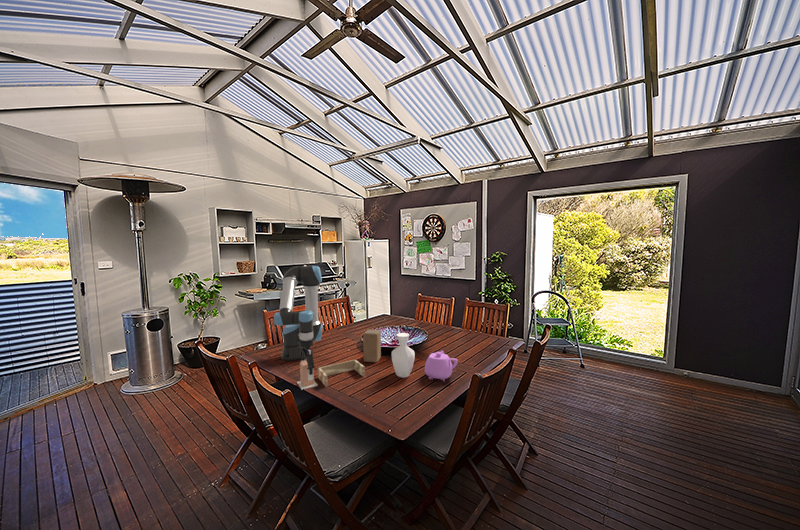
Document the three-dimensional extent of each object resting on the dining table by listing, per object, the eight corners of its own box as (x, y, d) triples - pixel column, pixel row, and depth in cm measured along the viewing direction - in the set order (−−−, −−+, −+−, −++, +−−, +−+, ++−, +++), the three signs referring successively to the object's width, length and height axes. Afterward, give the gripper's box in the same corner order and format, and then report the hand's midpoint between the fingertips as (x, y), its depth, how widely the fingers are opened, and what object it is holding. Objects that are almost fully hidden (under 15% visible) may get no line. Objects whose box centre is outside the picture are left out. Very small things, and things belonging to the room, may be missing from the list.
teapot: (460, 371, 189) (460, 348, 188) (455, 385, 170) (455, 359, 169) (429, 367, 195) (429, 344, 194) (421, 380, 176) (421, 355, 175)
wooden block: (377, 363, 201) (377, 334, 200) (363, 361, 203) (362, 333, 202) (381, 357, 211) (381, 329, 210) (367, 356, 213) (367, 328, 212)
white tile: (297, 382, 173) (297, 381, 173) (312, 379, 178) (312, 378, 178) (301, 390, 164) (301, 388, 164) (317, 385, 169) (317, 384, 169)
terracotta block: (310, 379, 175) (310, 360, 174) (314, 384, 170) (313, 363, 169) (300, 382, 172) (299, 362, 171) (303, 386, 167) (302, 365, 166)
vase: (388, 371, 188) (387, 332, 186) (408, 368, 193) (408, 330, 191) (396, 381, 175) (396, 339, 173) (418, 377, 180) (418, 336, 178)
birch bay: (317, 377, 180) (317, 367, 179) (355, 368, 193) (355, 359, 192) (325, 386, 168) (325, 376, 168) (364, 376, 181) (364, 366, 181)
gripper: (294, 334, 177) (294, 368, 179) (305, 346, 157) (306, 385, 158) (306, 332, 182) (307, 366, 183) (319, 343, 161) (320, 382, 162)
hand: (307, 375), depth 171 cm, fingers open, 13 cm apart
